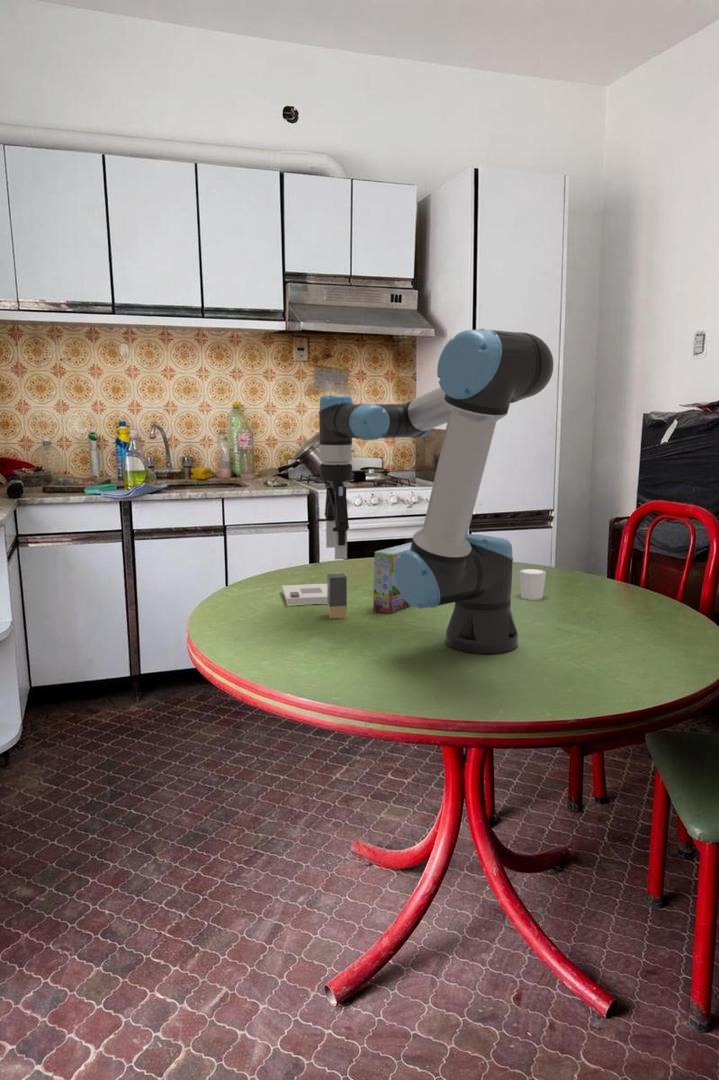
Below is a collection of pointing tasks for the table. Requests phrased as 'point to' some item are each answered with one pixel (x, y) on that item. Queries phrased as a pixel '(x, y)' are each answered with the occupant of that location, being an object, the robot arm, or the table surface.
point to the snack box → (387, 580)
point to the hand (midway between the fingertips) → (336, 553)
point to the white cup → (532, 583)
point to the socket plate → (305, 594)
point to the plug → (337, 595)
